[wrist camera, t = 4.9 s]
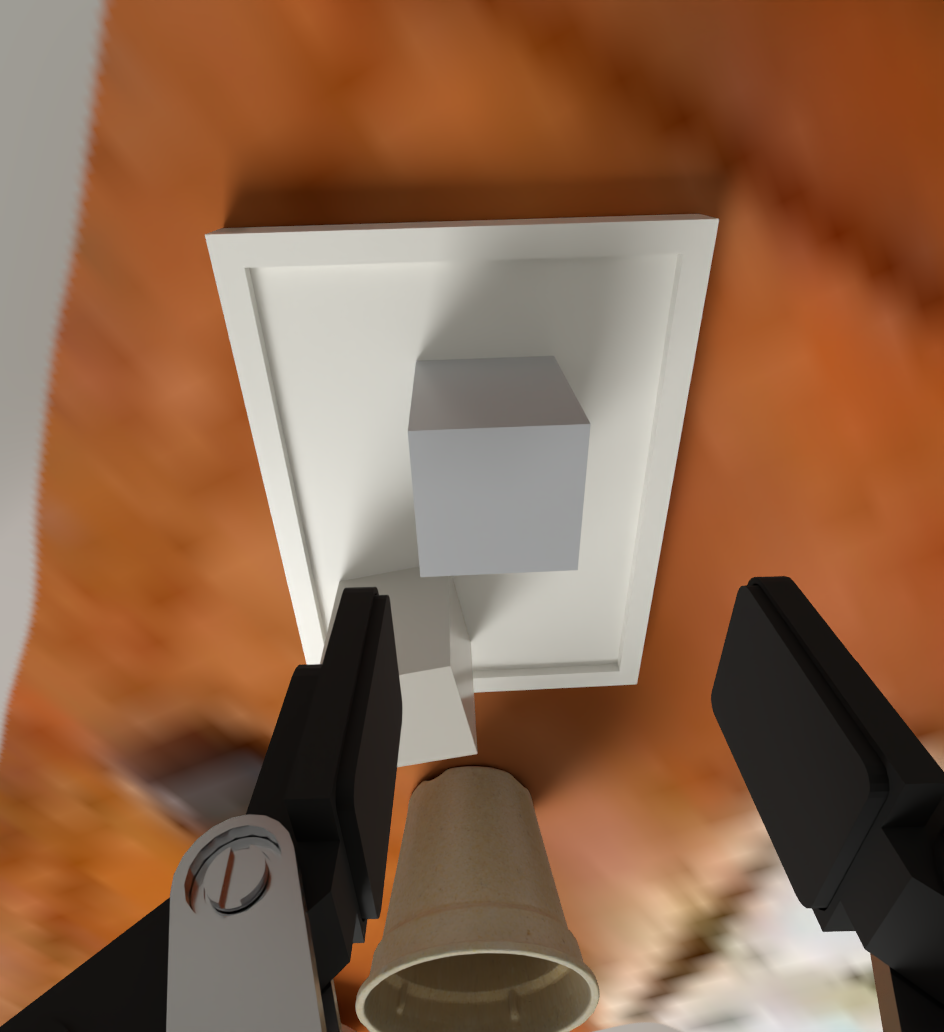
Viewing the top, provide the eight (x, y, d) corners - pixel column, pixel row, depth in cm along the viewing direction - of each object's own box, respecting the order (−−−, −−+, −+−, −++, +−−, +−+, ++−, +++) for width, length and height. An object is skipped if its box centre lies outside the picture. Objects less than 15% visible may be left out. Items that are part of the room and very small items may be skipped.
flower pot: (348, 762, 28) (316, 978, 21) (542, 722, 27) (580, 933, 20) (408, 863, 33) (399, 1067, 26) (575, 832, 32) (614, 1035, 25)
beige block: (448, 561, 21) (450, 666, 17) (470, 642, 23) (477, 753, 19) (339, 581, 21) (313, 690, 17) (371, 660, 23) (355, 773, 19)
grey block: (553, 355, 17) (590, 424, 13) (547, 477, 19) (577, 570, 15) (415, 360, 17) (408, 430, 13) (425, 482, 19) (420, 576, 15)
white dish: (699, 213, 16) (719, 218, 15) (627, 659, 25) (636, 684, 24) (222, 227, 16) (204, 234, 15) (321, 674, 25) (315, 700, 24)
